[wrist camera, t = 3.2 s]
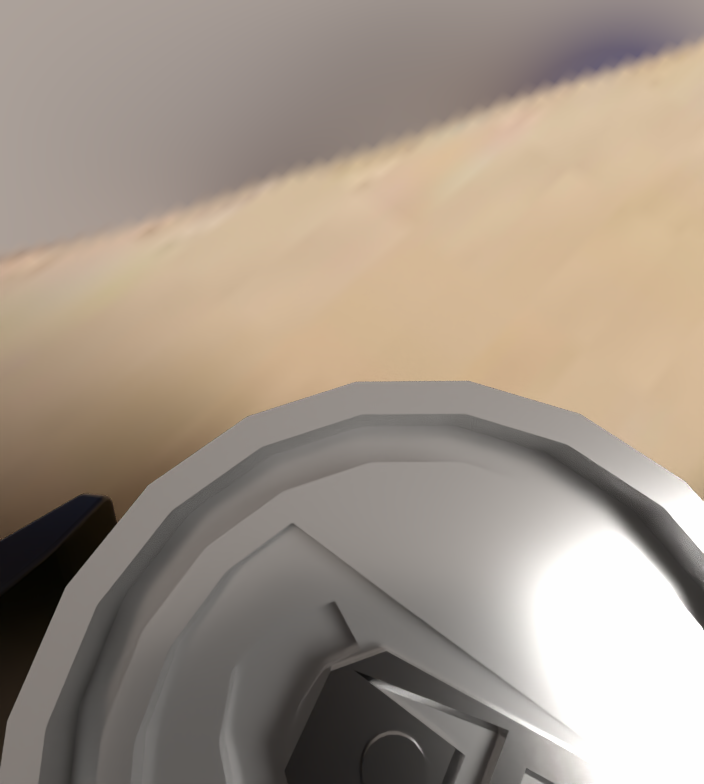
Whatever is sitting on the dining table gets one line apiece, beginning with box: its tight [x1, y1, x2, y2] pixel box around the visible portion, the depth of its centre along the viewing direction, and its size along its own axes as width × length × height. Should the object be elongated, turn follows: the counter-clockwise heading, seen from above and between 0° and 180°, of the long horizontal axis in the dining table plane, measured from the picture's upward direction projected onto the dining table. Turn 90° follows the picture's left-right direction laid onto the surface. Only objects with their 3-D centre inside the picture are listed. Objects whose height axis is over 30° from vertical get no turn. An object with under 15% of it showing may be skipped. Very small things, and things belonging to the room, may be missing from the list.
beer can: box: [0, 381, 704, 784], centre depth 9 cm, size 5×5×12 cm
